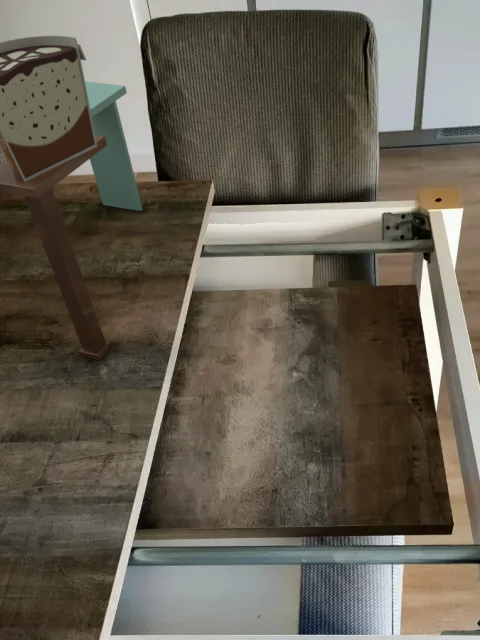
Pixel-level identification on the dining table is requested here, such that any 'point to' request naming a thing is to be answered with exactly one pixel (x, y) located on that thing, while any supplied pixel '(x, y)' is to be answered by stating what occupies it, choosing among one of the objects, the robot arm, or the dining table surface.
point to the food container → (43, 104)
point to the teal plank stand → (112, 149)
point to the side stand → (61, 246)
